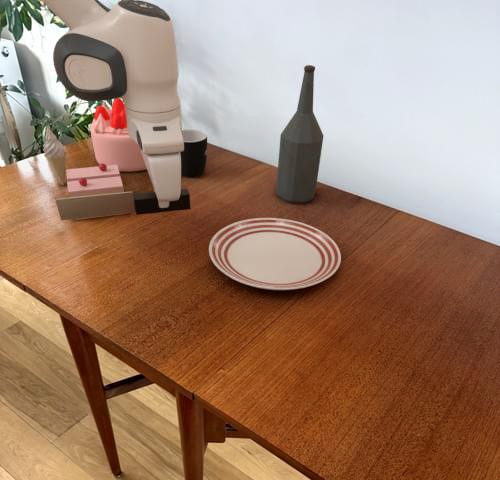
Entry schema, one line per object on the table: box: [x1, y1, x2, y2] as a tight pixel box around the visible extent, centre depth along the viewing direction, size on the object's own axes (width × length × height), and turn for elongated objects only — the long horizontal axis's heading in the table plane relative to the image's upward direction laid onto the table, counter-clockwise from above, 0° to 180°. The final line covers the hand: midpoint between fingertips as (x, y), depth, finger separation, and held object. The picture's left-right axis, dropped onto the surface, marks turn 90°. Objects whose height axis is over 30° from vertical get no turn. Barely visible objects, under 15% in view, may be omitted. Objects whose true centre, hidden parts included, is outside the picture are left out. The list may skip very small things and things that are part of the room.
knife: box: [55, 188, 191, 221], centre depth 83 cm, size 23×2×4 cm, turn 107°
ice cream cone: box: [42, 125, 67, 186], centre depth 115 cm, size 5×5×15 cm
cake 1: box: [89, 98, 147, 173], centre depth 129 cm, size 20×20×14 cm
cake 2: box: [65, 163, 128, 221], centre depth 110 cm, size 12×12×9 cm
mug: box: [180, 128, 208, 178], centre depth 126 cm, size 12×9×10 cm
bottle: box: [275, 64, 324, 204], centre depth 110 cm, size 10×10×30 cm
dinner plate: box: [208, 217, 342, 291], centre depth 97 cm, size 28×27×3 cm
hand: (161, 201), depth 85 cm, fingers closed on knife, 2 cm apart
